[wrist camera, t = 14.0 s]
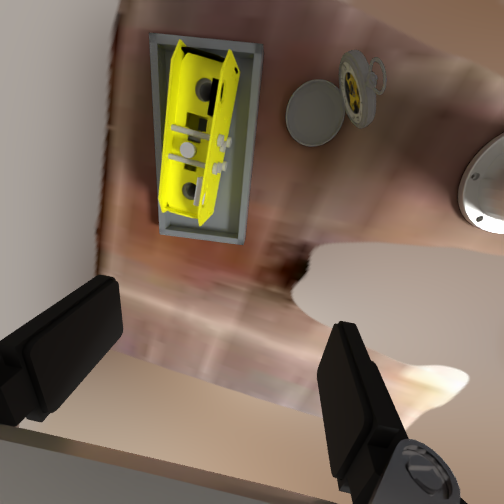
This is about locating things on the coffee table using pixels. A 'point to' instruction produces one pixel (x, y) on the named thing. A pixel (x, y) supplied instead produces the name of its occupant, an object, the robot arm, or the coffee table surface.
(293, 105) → the pocket watch
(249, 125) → the tray
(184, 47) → the yellow toy chassis
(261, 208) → the coffee table surface
